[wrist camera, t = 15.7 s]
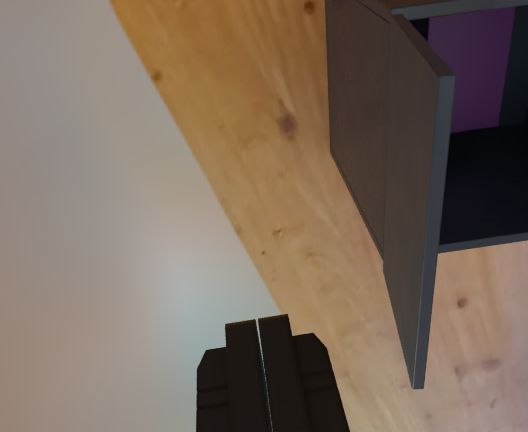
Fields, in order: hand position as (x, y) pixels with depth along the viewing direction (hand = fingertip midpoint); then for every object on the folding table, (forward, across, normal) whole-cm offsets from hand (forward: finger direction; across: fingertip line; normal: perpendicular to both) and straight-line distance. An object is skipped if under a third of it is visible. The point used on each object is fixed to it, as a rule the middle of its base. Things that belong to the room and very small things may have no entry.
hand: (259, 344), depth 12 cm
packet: (+20, -13, 0) cm, 24 cm away
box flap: (+5, -6, 0) cm, 8 cm away
